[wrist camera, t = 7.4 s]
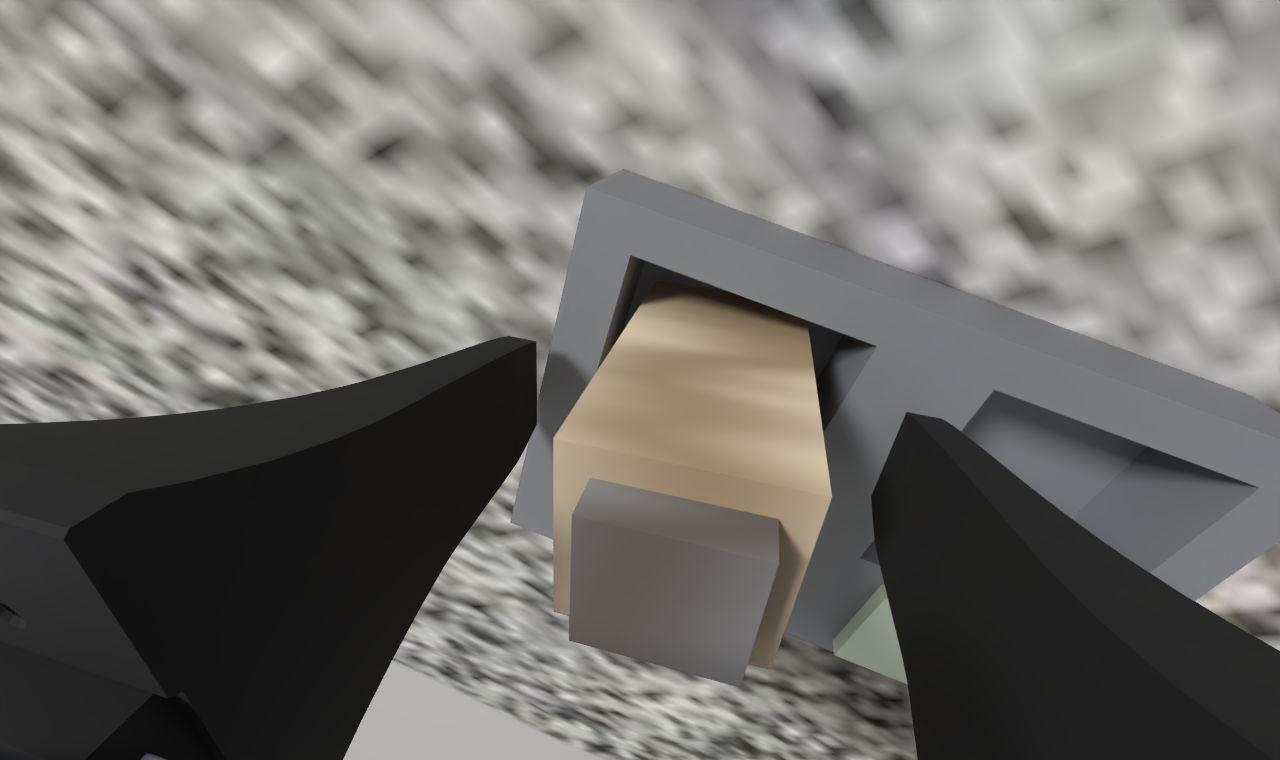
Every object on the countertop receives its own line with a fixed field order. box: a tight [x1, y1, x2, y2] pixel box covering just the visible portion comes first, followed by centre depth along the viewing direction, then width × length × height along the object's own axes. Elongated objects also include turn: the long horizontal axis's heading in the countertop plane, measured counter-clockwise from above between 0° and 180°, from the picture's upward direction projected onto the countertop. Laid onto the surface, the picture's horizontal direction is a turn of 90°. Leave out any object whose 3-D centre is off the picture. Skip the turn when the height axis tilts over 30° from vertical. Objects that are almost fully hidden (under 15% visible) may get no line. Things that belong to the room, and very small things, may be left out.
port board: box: [511, 169, 1280, 685], centre depth 12 cm, size 14×9×3 cm, turn 73°
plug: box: [553, 281, 832, 687], centre depth 10 cm, size 3×3×7 cm
